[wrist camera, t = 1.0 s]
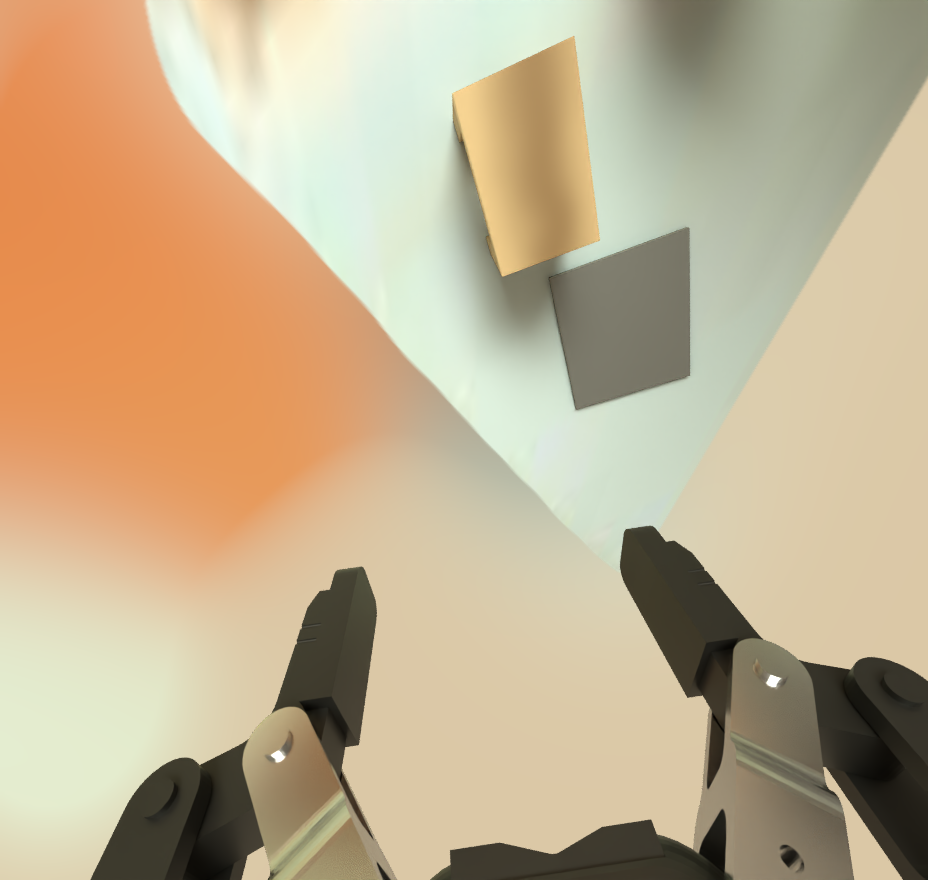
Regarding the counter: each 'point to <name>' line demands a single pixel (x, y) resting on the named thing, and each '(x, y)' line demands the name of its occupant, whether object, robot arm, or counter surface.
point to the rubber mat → (626, 319)
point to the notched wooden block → (530, 158)
